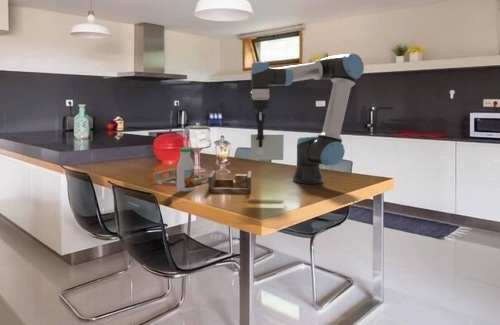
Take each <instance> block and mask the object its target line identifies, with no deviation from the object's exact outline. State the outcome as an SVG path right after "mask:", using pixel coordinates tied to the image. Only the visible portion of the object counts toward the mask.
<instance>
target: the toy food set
mask: <svg viewBox="0 0 500 325" xmlns="http://www.w3.org/2000/svg"><path fill="white" fill-rule="evenodd" d="M165 174H168V175H167V176H165V177H164V175H165ZM152 176H153V179H154V182H155V183H156V184H157V185H163V186H169V185H170V186H171V187H177V167H176V168H172V169H168V170H167V169H166V170H163V171H160V172H156V173H153V175H152ZM208 177H209V175H206V174H205V173H203V174H201V177H200V176H199V174H198V173H194V186H197V185H201V184H202V183H206V182H209V178H208Z"/></svg>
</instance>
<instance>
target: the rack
mask: <svg viewBox="0 0 500 325" xmlns="http://www.w3.org/2000/svg"><path fill="white" fill-rule="evenodd" d="M216 174H217V171H216V170H211V173H210V174H209V175H208V176H209V177H208V178H209V181H208V194H236V195H237V194H238V195H239V194H240V195H243V194H246V195H251V194H252V171H251V170H248V171H247V188H233V180H235V178H234V179H233V178H232V179H231V178H229V179H228V178H226V179H224V178H223V179H222V178H221V179H220V178H219V179H217V175H216ZM208 178H207V179H208Z"/></svg>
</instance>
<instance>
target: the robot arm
mask: <svg viewBox="0 0 500 325" xmlns="http://www.w3.org/2000/svg"><path fill="white" fill-rule="evenodd" d="M364 66H365V65H364V62H363V60H362V57H360V56H359V55H358V54H357V53H349V52H348V53H346V54H344V53H343V54H337V55H332V56H331V55H330V56H327V57H324V58H321V59H317V60H313V61H312V62H310V63H304V64H303V63H302V64H295V65H288V66H281V67H270V63H269V62H267V61H256V62H253V63H252V64H251V68H250V71H251V72H250V74H251V91H250V92H249V93H250V94H251V109H254V110H257V112H256V113H255V118H256V121H255V122H256V124H257V134H258V136H257V138H256V140H257V155H264V136H263V134H264V124H265V119H266V113H265V112H264V110H268V109H270V100H269V99H270V87H277V86H279V87H280V86H283V87H284V86H287V87H288V86H291V84H293V82H299V81H305V80H306V81H307V80H316V81H319V80H330V81H331V82H332V89H331V91H330V92H331V93H330V97H329V101H328V105H327V109H326V115H325V119H324V123H323V127H322V132H321V133H319V134H318V135H317V136H305V137H304V136H303V137H301V136H300V137H299V138H297V142H296V166H295V170H294V172H293V175H292V182H295V183H297V184H298V183H299V184H308V185H309V184H310V185H312V184H313V185H315V184H321V183H323V175H322V174H323V173H322V172H321V171H322V170H321V167H320V165H323V166H335V165H338V164H340V162H342V160H343V158H344V156H345V150H346V149H345V146H344V144H343V143H342V142H343V139H342V137H341V132H342V128H343V124H344V118H345V114H346V112H347V111H346V110H347V108H348V101H349V99H350V98H349V96H350V93H351V90H352V87H354V86H355V85H356V82H357V79H359V78H360V77H361V76H362V75H363V73H364V69H365V67H364Z"/></svg>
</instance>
